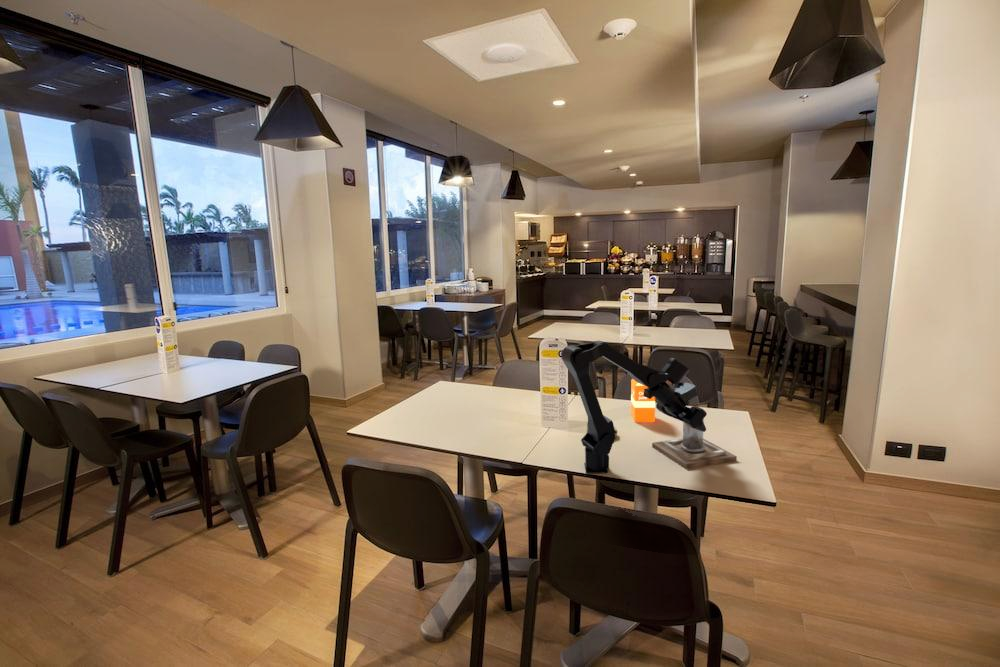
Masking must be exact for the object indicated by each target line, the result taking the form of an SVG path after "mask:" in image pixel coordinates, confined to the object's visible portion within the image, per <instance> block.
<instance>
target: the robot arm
mask: <svg viewBox="0 0 1000 667" xmlns="http://www.w3.org/2000/svg"><path fill="white" fill-rule="evenodd" d="M560 356H561V359H562V361H563V364H564V366H565V368H567V369H568V371H569V373H570V374H571V375H572V377H573V379H574V382H575V384H576V387H577V390H578V392H579V396H580V399H581V401H582V406H583V408H584V410H585V414H586V416H587V424H586V428H587V427H588V432H587V431H586V433H585V435H584V436H583V437H582V438H581V439H580V442H581V444H582V446H583V447H584V463H583V464H584V469H585V473H586V474H608V473H609V469H610V461H609V460H610V456H609V454H610V452H611V450H612V447H613V444H614V443H615V441H616V438H617V437H616V436H617V435H616V436H615V433H617V434H618V431H617V432H616V431H615V429H614V427H615V426H614V423H613V420H612V419H610V418H608V417H607V416H605V415H604V414H603V412H602V408H601V405H600V402H599V400H598V396H597V394H596V391H595V388H594V385H593V382H592V379H591V376H590V369H591V368H590V367H591V363H592V362H596V361H597V360H598V359H599V358H601V357H602V358H603V359H605V360H607V361H608V362H610V363H612V364H613V365H616V367H619V368H621V369H622V370H624V371H625V372H626V373H627V375H629V377H630V378H632V379H634V380H635V381H636V382H637V383H640V384H642V385H644V386H647V387H648V388H646V389H644V394H643V396H644V397H647V398H649V399H651V398H652V397H653V396H654V397H655V400H656V401H657V403H655V409H657V410H658V412H661V413H662V414H664V415H666V416H669V417H671V418H673V419H675V420H677V421H681V422H684V423H685V424H686V425H687V426H689V427H691V428H694V429H697V430H700V431H703V433H704V432H706V431H707V427H706V426H705V423H704V422H705V421H704V422H703V419H704V420H705V417H706V416H707V414H708V413H707V412H706V410H705V409H703V407H702V408H701V407H700V406H697V405H695V406H694V405H693V406H691V408H690V407H688V406H689V405H690V403H691V402H690V400H692V399H694V398H695V397H698V396H699V395H700V394H699V391H698V389H697V386H696V385H695V384H693V383H690V382H681V381H682V380H683V379H684V378H685V377H686V375H687V374H688V373H689V372H690V370H689V368H688V367H687V366H686V365H684V364H683V363H682V362H680V361H678V360H677V359H676V358H673V357H670V358H669V360H668V361H667V363H666V364H665V366H663V367H662V369H661V370H660V369H657V368H652V367H649V366H646V365H643V364H641V363H638V362H636V361H635V360H634V359H632V358H630V357H628V356H627V355H625V354H624V353H622V352H620V351H619V350H618V349H615V348H614V347H612V346H611V345H610V344H609V343H608V342H604V341H602V340H596V341H592V342H587V343H582V344H577V345H572V344H570V345H567V346H565V347H564V348H563V349H562V351H561V352H560ZM671 386H674V389H673V388H672V387H671ZM683 414H685V416H684V417H683Z"/></svg>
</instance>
